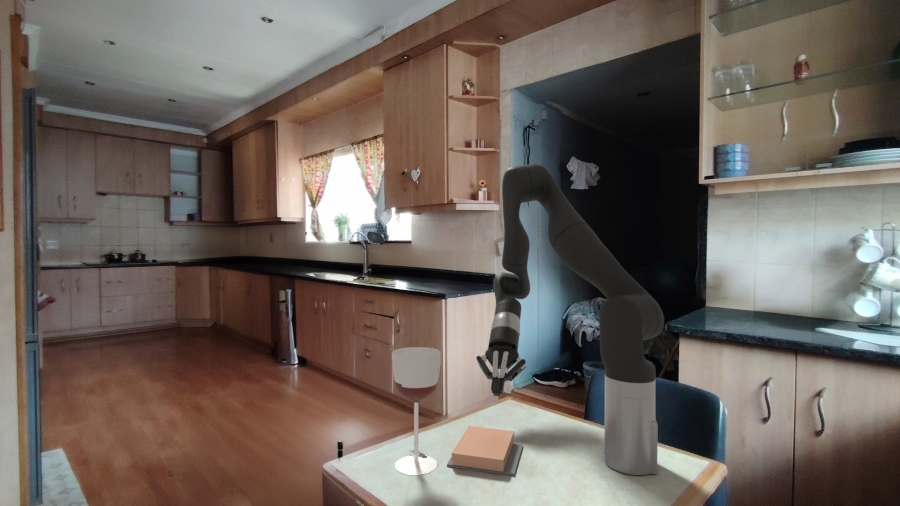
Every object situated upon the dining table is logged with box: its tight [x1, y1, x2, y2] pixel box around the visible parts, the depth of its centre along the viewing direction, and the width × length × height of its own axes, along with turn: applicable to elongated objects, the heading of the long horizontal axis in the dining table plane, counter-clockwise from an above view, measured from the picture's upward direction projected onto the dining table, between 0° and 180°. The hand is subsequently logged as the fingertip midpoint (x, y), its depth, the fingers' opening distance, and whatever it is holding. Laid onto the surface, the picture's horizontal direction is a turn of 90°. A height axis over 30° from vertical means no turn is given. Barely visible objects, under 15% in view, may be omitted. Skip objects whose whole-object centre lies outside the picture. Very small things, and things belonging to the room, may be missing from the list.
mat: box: [446, 443, 524, 477], centre depth 90 cm, size 13×13×1 cm
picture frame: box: [451, 425, 515, 472], centre depth 91 cm, size 10×2×14 cm
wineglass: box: [391, 346, 442, 476], centre depth 86 cm, size 9×10×22 cm
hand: (496, 394), depth 104 cm, fingers closed
